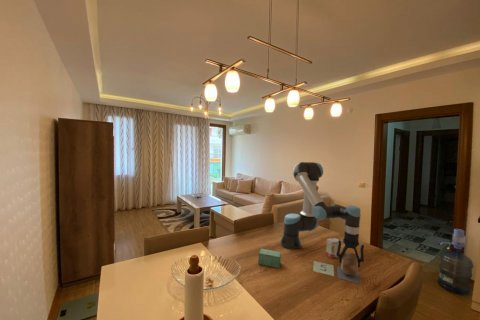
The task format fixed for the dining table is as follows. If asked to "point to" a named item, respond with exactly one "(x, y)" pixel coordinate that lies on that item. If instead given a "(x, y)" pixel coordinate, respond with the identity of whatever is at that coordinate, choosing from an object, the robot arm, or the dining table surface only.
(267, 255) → the box
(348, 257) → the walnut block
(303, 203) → the robot arm
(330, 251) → the ink box
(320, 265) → the tile
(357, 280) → the mat
